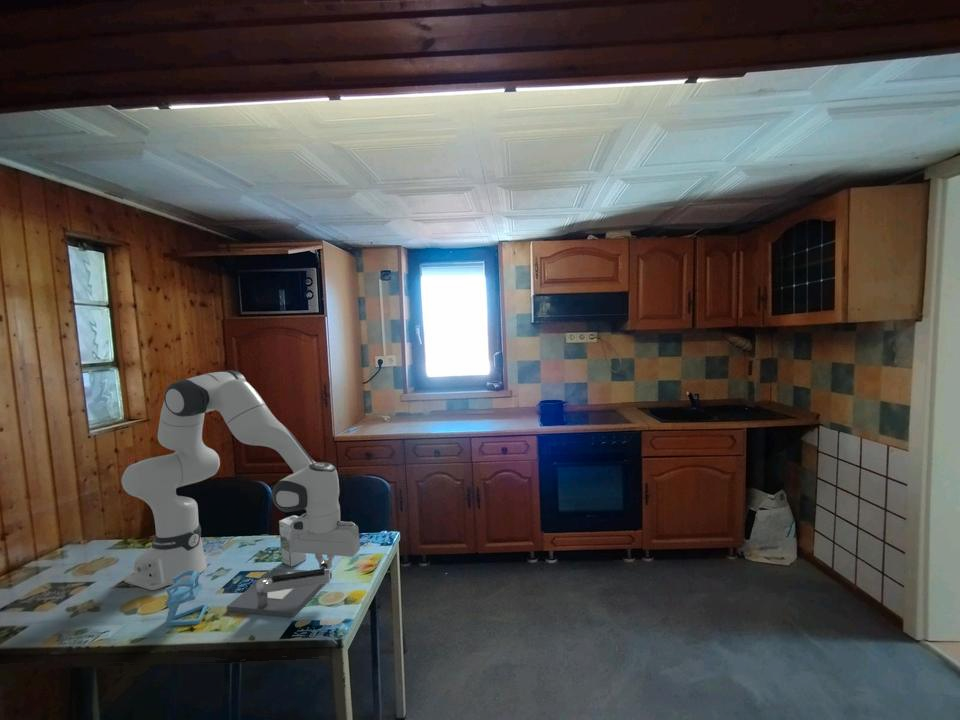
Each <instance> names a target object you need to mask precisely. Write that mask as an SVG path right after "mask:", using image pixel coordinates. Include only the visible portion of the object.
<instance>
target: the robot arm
mask: <svg viewBox="0 0 960 720" xmlns="http://www.w3.org/2000/svg"><path fill="white" fill-rule="evenodd" d="M163 396H164V400H163V403H162V406H161V411H160V416H159V422H158V430H157V440H158V443H159V444H160V445H161V446H162V447H164V448H166V449H168V450H171V451H174V452H173V453H169V454H166V455H158V456H154V457H150V458H145V459H143V460H140V461H137V462H135V463H133V464H129V466H127V467H126V469H125V470H124V471H123V473H122V476H121V485H122V488H123V490H124V491H125V493H127V494H128V495H129V496H132V497H135V498H138V499H139V500H142V501H143V502H145V503H146V504H147V505H148V506H149V507H150V509H151V511H152V515H153V519H154V525H155V526H154V527H155V534H153V535H151V536H149V537H148V538H149V539H148V541H152V543H151V546H150V547H148V548H147V549H146V550H145V551H144V552H142V554H140V555H139V556H138V557H137V558H136V559H135V561H134V566H133V567H134V569H133V571H132V572H130V573H129V574H127V576H126V577H125V578H124V583H125V584H129V585H132V586H137V587H140V588H142V589H147V590H150V591H156V590H159V589H162V588H164V587H165V588H166V587H168V586H172V585H173V584H174V581H173V579H172V578H174V577H177V576H179V575H180V574H182V573H184V572H186V571H199V572H200V574H201V573H203V572H204V571H205V570H206V569H207V567H208V562H207V555H206V554H205V550H204V545H203V540H202V537H201V536H202V528H201V524H200V522H199V508H198V507H199V506H198V503H197V501H196V500H195V499H194V498H192V497H188V496H185V495H184V496H183V495H177V489H178V488H181V487H185V486H188V485H192V484H196V483H199V482H202V481H205V480H207V479H209V478H210V477H213V476H215V475H216V474H217V473H218V471H219V469H220V466H221V459H220V456H219V453H217V452H216V450H214V449H213V448H211V447H208V445H206V444H205V443H204V441H203V428H204V421H205V415H206V413H210V412H212V411H217V412H219V413H220V415H221V416H222V418H223V420H224V422H225V424H226V425H227V427H228V430H229V431H230V432H231V434H232V435H233V436H234V437H235V438H236V439H237V441H239V442H241V444H245V445H249V446H261V447H267V448H269V449H273V450H274V451H276V452H277V453H279V455H280V456H281V457H282V458H283V460H284V461H285V463H286V464H287V465H288V466H289V467H290V469H291V470H292V472H293V473H291V474H289V475H287V476H286V477H284V478H282V479H280V480H279V481H278V482H276V484H275V485H274V486H273V488H272V492H271V499H272V502H273V504H274V506H275V507H276V508H277V509H279V510H280V511H282V512H284V513H290V512H291V513H292V512H297V511H302V510H305V511H306V512H305V513H303V514H300V516H298V518H296V519H295V520H294V521H293V522H291V529H293V530H291V532H290V549H291V551H292V552H296V553H306V554H308V555H309V554H311V555H313V554H314V557H315V559H316V561H317V563H319V564H318V565H319V567H318V569H323V568H324V569H325V570H331V568H332V567H333V560H334V558H335V556H340V557H354V556H355V555H356V554H358V553H359V552H360V549H361V544H360V543H361V541H360V535H359V526H358V525H357V524H355V523H354V522H353V521H346V520H345V521H343V520H342V521H341V507H340V506H341V505H340V502H339V497H340V484H339V483H340V482H339V481H340V480H339V473H338V471H337V469H336V466H335V465H333V464H332V463H329V462H321V461H320V462H319V461H318V462H316V461H315V460H314V459H313V458H312V456H310V455H309V454H308V452H307V451H306V449H305V448H304V447H303V446H302V444H301V443H300V441H298V439H297V438H296V436H295V435H293V433H292V431H290V430H289V429H288V428H287V426H286V425H284V424H283V423H281V421H279V420H278V419H277V417H275V415H274V414H273V413H272V411H271V410H270V408H269V407H268V406H267V404H266V403H265V400H263V398H262V396H261V395H260V394H259V393H258V391H257V390H256V389H255V388H254V387H253V386H252V385H251V384H250V382H248V381H247V379H246V377H245V376H244V375H243V374H242V373H241V372H239V371H237V370H227V369H226V370H222V371H215V372H208V373H203V374H201V375H196V376H193V377H190V378H185V379H181V380H177V381H175V382H173V383H171V384H169V385H168V386H167V387H166V389H165V391H164V395H163ZM324 555H325V556H326V559H325V557H324ZM190 577H191V575H187V576H184V577H182V578H180V579H178V580H177V582H178V581H181V580H185V579H189V578H190Z"/></svg>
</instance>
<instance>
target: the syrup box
mask: <svg viewBox="0 0 960 720" xmlns="http://www.w3.org/2000/svg"><path fill="white" fill-rule="evenodd" d="M298 517H299V516H298V515H295V514H294V515H290V516H286V517H285V518H283V519H280V520H278V524H279V525H278V526H279V537H280V538H279V539H280V541H279V542H280V555H281V563H282V564H283V563H284V564H283V565H286V566H289V567H290V566H291V567H290V568H292V566H293V567H295V566H297V565H299V564H301V563H302V561H303V562H305V561H306V560H307V553H296V552H292V551H291V549H290V532H291V530H293V529H291V522H293V521H294V520H295V519H296V518H298ZM304 560H305V561H304ZM300 562H301V563H300ZM298 563H299V564H298ZM296 564H297V565H296ZM294 565H295V566H294Z"/></svg>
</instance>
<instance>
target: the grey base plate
mask: <svg viewBox="0 0 960 720" xmlns="http://www.w3.org/2000/svg"><path fill="white" fill-rule="evenodd" d="M303 571H308V570H307V569H293V568H291V569H290V568H276V567H274V568H272V569H271V570H270V571H269V572H268V573H266V574H265V575H264V576H262V577H261V578H260V579H262V578H267V579H271V578H272V576H276V575H283V574H289V573H296V572H303ZM332 573H333V572H331V571H330V579H332V576H333V574H332ZM326 584H327V583H325V584H318V585H312V586H306V587H299V588H293V589H286V590H280V591H274V592H267V593H265V594H263V595H257V593H256V582H255V583H253V585H251V586H250V587H248V589H246V590H245V591H244V592H242V593H241V594H240V595H239V596H238V597H237V598H235V599H233V600H232V601H231V602H230V603H228V605H226V612H227V613H228V612H229V613H237V614H238V613H239V614H247V615H248V614H249V615H259V616H270V617H280V618H281V617H282V618H290V619H291V618H293V619H294V618H295V617H296V616H297V615H298V613H299V612H300V611H301V610H302V609H304V607H305V606H306V605H307V604H308V603H309V602H310V601H311V600H312V599H313V597H315V596H316V594H317V593H319V591H320V590H322V588H323V587H324V586H325V585H326Z"/></svg>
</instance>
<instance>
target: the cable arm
mask: <svg viewBox="0 0 960 720" xmlns="http://www.w3.org/2000/svg"><path fill="white" fill-rule="evenodd" d="M330 572H331V569H324V568H323V569H321V568H317V569H311V570H307V571H303V572H296V573H289V574H283V575H276V576H272V578H271V579H267V578H263V577H261V578H262V579H261V578H260V579H258V580H257V581H256V582H255V583H256V593H257V595H263V594H265V593H267V592H274V591H280V590H286V589H293V588H299V587H306V586H312V585H318V584H325V583H326V584H329V583H330V580H331V578H330ZM326 584H325V585H326Z"/></svg>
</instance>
